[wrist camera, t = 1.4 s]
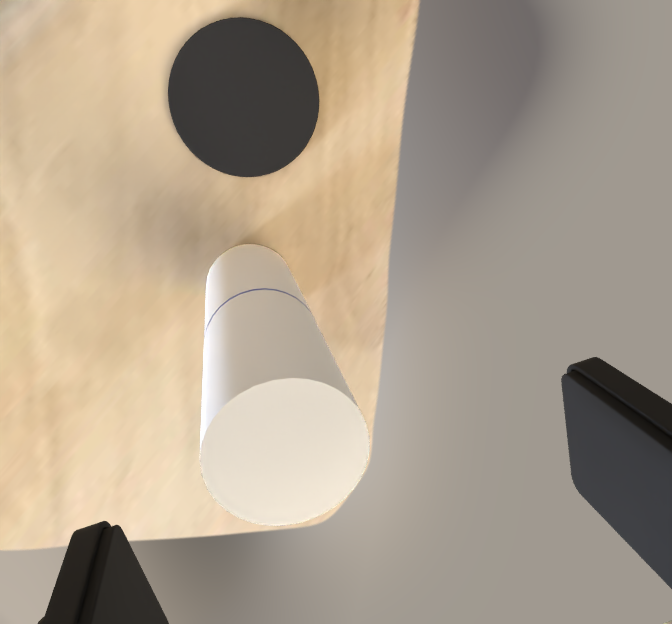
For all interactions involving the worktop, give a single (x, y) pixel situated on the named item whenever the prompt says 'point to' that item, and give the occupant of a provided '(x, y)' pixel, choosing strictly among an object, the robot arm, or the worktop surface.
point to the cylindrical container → (273, 397)
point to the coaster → (243, 97)
